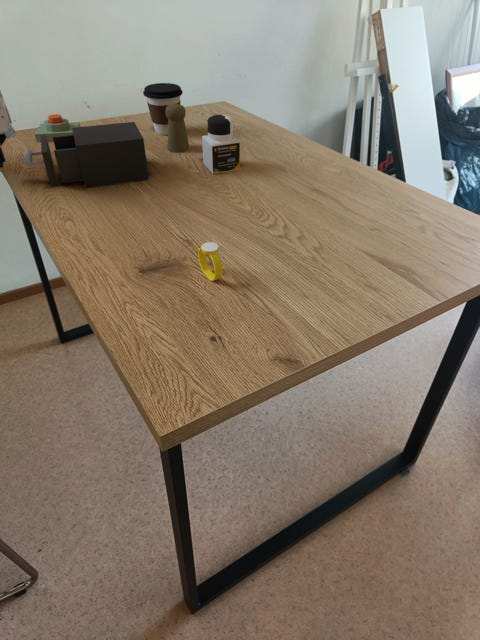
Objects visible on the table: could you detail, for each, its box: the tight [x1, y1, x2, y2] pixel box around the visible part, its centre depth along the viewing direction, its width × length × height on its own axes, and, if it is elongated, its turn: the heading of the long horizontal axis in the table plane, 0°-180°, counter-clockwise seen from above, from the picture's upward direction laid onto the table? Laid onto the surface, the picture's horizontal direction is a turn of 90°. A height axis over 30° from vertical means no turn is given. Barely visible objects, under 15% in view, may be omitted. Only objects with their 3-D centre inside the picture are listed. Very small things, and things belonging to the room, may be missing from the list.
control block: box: [34, 117, 81, 143], centre depth 128 cm, size 11×9×4 cm
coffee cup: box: [142, 82, 183, 136], centre depth 129 cm, size 11×11×12 cm
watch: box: [197, 241, 223, 282], centre depth 75 cm, size 6×3×6 cm, turn 32°
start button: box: [47, 113, 63, 124], centre depth 127 cm, size 4×4×2 cm
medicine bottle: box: [201, 114, 241, 175], centre depth 109 cm, size 7×7×12 cm
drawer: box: [23, 134, 84, 187], centre depth 104 cm, size 18×11×8 cm, turn 109°
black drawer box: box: [72, 121, 150, 189], centre depth 106 cm, size 15×13×10 cm
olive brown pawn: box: [165, 103, 190, 153], centre depth 119 cm, size 6×6×11 cm
